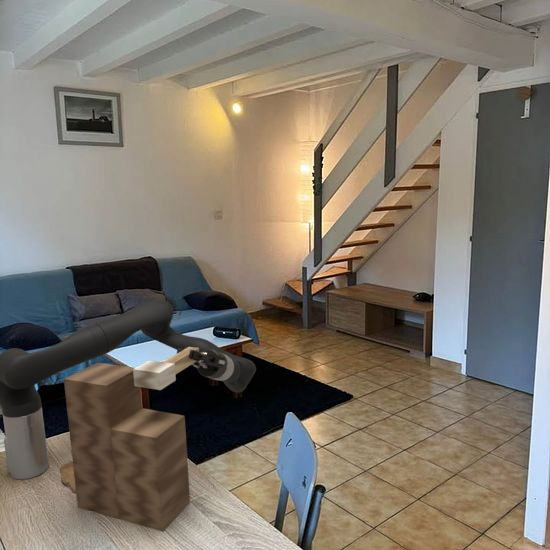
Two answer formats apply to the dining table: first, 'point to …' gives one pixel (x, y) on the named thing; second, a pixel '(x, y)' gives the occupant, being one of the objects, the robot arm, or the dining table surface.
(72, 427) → the stepped stand
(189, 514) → the dining table surface
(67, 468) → the pottery shard
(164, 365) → the mallet
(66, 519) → the dining table surface
